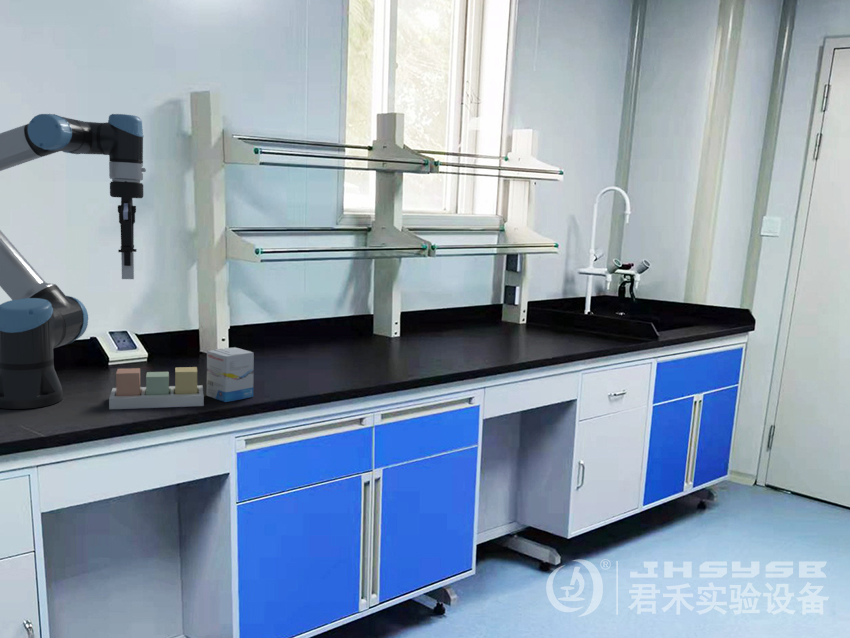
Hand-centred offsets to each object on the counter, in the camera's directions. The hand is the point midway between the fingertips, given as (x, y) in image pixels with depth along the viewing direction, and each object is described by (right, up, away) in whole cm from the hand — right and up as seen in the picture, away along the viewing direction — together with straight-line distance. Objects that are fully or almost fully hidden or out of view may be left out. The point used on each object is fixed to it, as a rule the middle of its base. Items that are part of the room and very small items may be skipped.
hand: (127, 278), depth 183 cm
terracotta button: (+3, -28, -6) cm, 29 cm away
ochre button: (+15, -28, -2) cm, 32 cm away
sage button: (+9, -29, -4) cm, 31 cm away
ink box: (+24, -30, +5) cm, 38 cm away
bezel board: (+9, -30, -4) cm, 31 cm away
